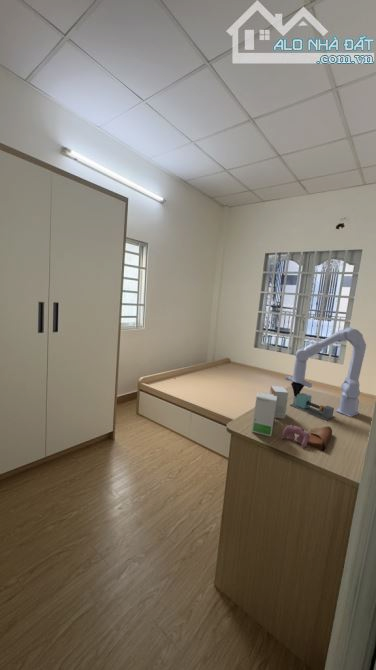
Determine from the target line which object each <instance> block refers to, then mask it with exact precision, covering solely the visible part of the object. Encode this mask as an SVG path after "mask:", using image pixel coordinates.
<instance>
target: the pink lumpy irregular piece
mask: <svg viewBox="0 0 376 670" xmlns="http://www.w3.org/2000/svg"><path fill="white" fill-rule="evenodd" d="M296 435H297V437H296ZM287 436H288V439H290V440H295V439H296V442H297V443H299V444H301V448H302V449H305V448H306V447H307V442H308V440H309V438H310V435H309V433H308V432H307V431H306V430H305V429H304V428H302V427H300V426H298V425H292V424H289V425H287V426H286V427H285V428H284V429H283V431H282V433H281V436H280V439H281V440H284V439H286V437H287Z"/></svg>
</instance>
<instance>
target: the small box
mask: <svg viewBox="0 0 376 670" xmlns="http://www.w3.org/2000/svg"><path fill="white" fill-rule="evenodd" d="M269 394H274V396H277V403H276V409H275V416H274V419H277V418H278V419H286V413H287V404H288V399H289V397H288V396H289V392H288V390H287V389H286V388H285V387H284V386H278V385H271V386H270V390H269Z"/></svg>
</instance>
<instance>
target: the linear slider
mask: <svg viewBox="0 0 376 670" xmlns="http://www.w3.org/2000/svg"><path fill="white" fill-rule="evenodd" d="M296 398H297V397H295V396H293V401H292V402H293V403H292V404H295V405H296ZM307 405H310V407H312V408H315V409H317V410H319V411H321V412H322V416H323V417H325V418H327V419H329V418H332V417H333V416H334V411H335V407H332V406H330V405H325V406H324V405H323V404H322V405H318V404H316V403H313V402H312V401H311V402H308V401H307ZM332 419H333V418H332ZM329 420H330V419H329Z"/></svg>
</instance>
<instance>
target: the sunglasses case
mask: <svg viewBox="0 0 376 670" xmlns="http://www.w3.org/2000/svg"><path fill="white" fill-rule="evenodd" d="M308 434H309V435H310V438H309V440H308V442H307V445H306V447H307V446H308V447H310V448H313V449H316V450H319V451H320V452H325V451H326V450H327V447H328V445H329V441H330V440H331V436H332V435H333V429H332V427H331V426H329V425H328V426H323V427H314V428H311V429H310V431H309V433H308Z"/></svg>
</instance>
